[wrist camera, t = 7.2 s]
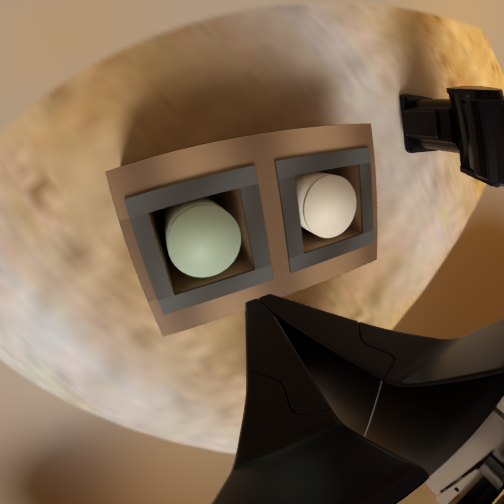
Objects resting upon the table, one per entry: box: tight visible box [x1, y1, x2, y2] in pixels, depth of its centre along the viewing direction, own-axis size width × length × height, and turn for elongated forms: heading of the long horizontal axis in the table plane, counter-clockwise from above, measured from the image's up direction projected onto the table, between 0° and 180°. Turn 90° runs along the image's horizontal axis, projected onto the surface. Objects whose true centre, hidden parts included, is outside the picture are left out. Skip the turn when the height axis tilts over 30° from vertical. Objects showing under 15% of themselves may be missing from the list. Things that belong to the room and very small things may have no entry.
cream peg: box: [295, 172, 356, 238], centre depth 19 cm, size 4×4×6 cm
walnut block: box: [106, 124, 377, 337], centre depth 18 cm, size 16×10×6 cm, turn 101°
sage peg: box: [163, 196, 241, 277], centre depth 17 cm, size 4×4×6 cm
